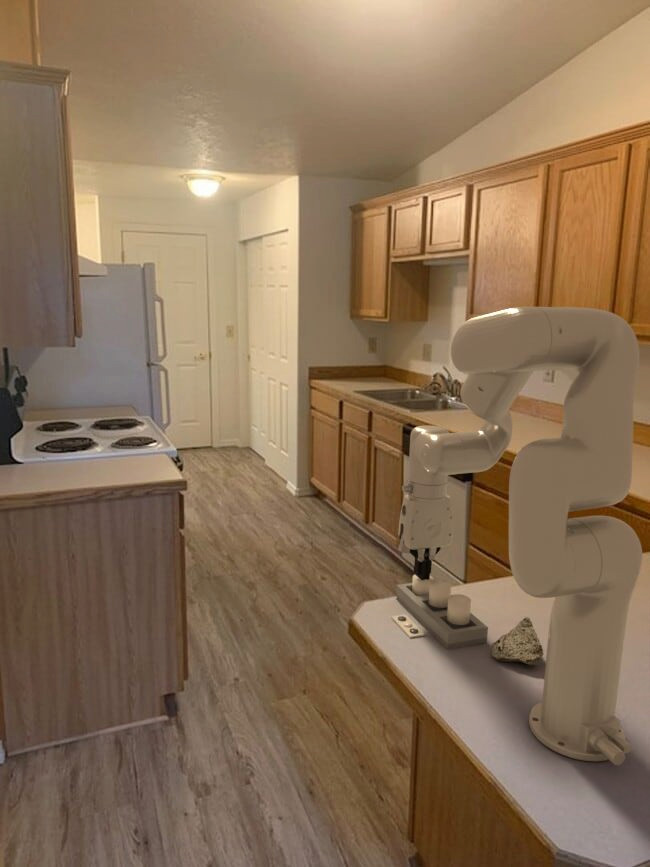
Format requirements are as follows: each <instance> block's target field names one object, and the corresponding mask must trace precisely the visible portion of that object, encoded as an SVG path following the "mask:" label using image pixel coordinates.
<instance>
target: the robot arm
mask: <svg viewBox="0 0 650 867" xmlns="http://www.w3.org/2000/svg"><path fill="white" fill-rule="evenodd" d="M450 357H451V361H452V364H453V366H454V367H455V369H456V370H457V371H458V372H460V373H462V374H464V375H467V376H466V379H465V380H464V382H463V383H462V385H461V387H460V397H461V398H460V399H461V402H462V403H463V405H464V406H465V407H466V408H467V410H469V411H470V412H471V413H472V414H473V415H474V416H477V417H478V418H480V419H482V420H484V421H483V424H482V425H481V426H480V428H479V429H478V430H477V431H463V432H462V431H461V432H451V433H450V432H449V430H448V429H447V428H445V427H442V426H438V425H418V426H416V427H414V428H413V429H412V430H411V432H410V437H409V438H410V439H409V441H410V442H409V456H408V458H409V459H408V475H407V476H408V477H407V478H408V480H406V484H405V485H404V484H403V485H402V486H401V490H402V492H403V493H406V494H404V497H403V500H402V504H401V508H400V509H401V510H400V514H399V521H398V534H397V535H398V536H397V537H398V541H399V543H398V544H399V545H398V551H400V553H402V554H403V553H404V554H410V555H411V556H412V557H413V558H414V564H413V565H414V568H413V573H414V575H416V576H417V577H419V578H420V579H421V580H425V579H426V580H429V579H430V576H431V574H432V561H434V560H435V558H436V555H437V554H438V553H439V552H440V551H441V550H445V549H447V548H449V547H450V545H451V544H452V542H453V535H454V522H453V521H454V520H453V518H454V517H453V506H452V501H451V500H452V499H451V496H450V495H449V494H448V493H447V491H448V490H447V489H448V477H449V476H451V475H458V474H459V475H461V474H470V473H473V474H474V473H481V472H482V473H483V472H486V471H487V470H490V469H491V468H492V467H494V466H495V464H497V463H498V461H499V460H500V459H501V457H502V456H503V455H504V453H505V451H506V450H507V449H508V447H509V446H510V443H511V440H512V435H513V420H512V419H513V418H512V415H511V412H510V408H511V407H512V405H513V403H514V402H515V400H516V399H517V398H518V396H519V394H520V392H521V391H522V390H523V388H524V387H525V385H526V383H527V382H528V381H529V379H530V378H531V376H532V375H533V373H534V372H537V371H539V372H540V371H564V370H565V371H568V370H570V371H571V370H572V371H573V370H574V371H577V372H578V374H577V375H576V377H575V378H574V380H573V381H572V383H571V384H570V385H569V388H568V389H567V390H568V391H567V393H566V395H565V398H564V401H563V406H562V430H561V436H560V437H555V438H554V437H553V438H542V439H538V440H537V439H536V440H534V441H533V440H532V441H531V442H529V443H527V444H526V445H524V446H523V447H521V449H520V450H519V451H518V453H516V455H515V457H514V460H513V462H512V464H511V468H510V473H509V480H508V482H509V484H508V559H509V565H510V570H511V573H512V576H513V578H514V582H515V583H516V584H517V585H518V586H519V589H521V590H522V591H523V592H524V593H526V595H529V596H531V597H533V598H538V599H549V598H554V599H553V603H552V606H551V610H550V615H549V616H550V617H549V626H548V635H547V646H546V647H547V648H546V656H545V657H546V658H545V666H544V668H545V669H544V678H543V689H542V700H541V701H540V702H538V703H537V704H535V705H533V706H532V708H531V709H530V711H529V715H528V716H529V717H528V725H529V728H530V730H531V732H532V734H533V736H534V737H535V738H536V739H537V740H538V741H539V742H541V743H542V744H543V746H545V747H547V748H549V749H550V750H552V751H554V752H556V753H558V754H560V755H562V756H565V757H568V758H570V759H575V760H578V761H586V762H602V761H608V760H609V761H610V762H611V763H612V764H614V765H615V766H620V765H621V764H623V763H624V761H625V759H626V754H629V753H630V752H631V751H632V748H633V746H632V744H631V743H630V742H628V740H626V736H625V732H624V730H623V728H622V726H621V720H620V718H618V717H617V716H616V709H617V701H618V700H617V699H618V692H619V684H620V676H621V668H622V666H621V665H622V660H623V649H624V642H625V641H624V640H625V636H626V628H627V622H628V613H629V609H630V603H631V600H632V596H633V593H634V590H635V588H636V586H637V583H638V579H639V577H640V573H641V569H642V564H643V550H642V549H643V548H642V544H641V541H640V538H639V536H638V535H637V533H636V531H635V530H634V529H633V528H632V527H631V526H630V525H629V524H627V523H626V522H625V521H623V520H621V519H619V518H616V517H613V516H609V515H587V516H580V517H573V518H572V517H571V518H568V516H569V512H575V511H583V510H584V511H585V510H591V509H598V508H603V507H610V506H614V505H616V504H618V503H620V502H622V501H623V500H625V498H626V497H627V495H628V494H629V492H630V489H631V485H632V478H633V476H632V475H633V452H634V450H633V446H634V445H633V444H634V403H635V402H634V399H635V392H636V386H637V380H638V374H639V365H640V346H639V342H638V339H637V336H636V334H635V332H634V329H633V328H632V327H631V325H630V324H629V323H628V322H627V321H626V320H625V319H623V317H621V316H619V315H617V314H616V313H614V312H611V311H609V310H604V309H600V308H593V307H592V308H591V307H580V306H578V307H577V306H576V307H575V306H559V307H558V306H516V307H510V308H507V309H502V310H498V311H495V312H491V313H487V314H482V315H479V316H475V317H472V318H469V319H468V320H466V321H464V322H463V323H462V324H461V325H460V326H459V327H458V328H457V330H456V332H455V334H454V336H453V338H452V340H451V345H450Z"/></svg>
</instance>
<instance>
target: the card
mask: <svg viewBox="0 0 650 867" xmlns="http://www.w3.org/2000/svg"><path fill="white" fill-rule="evenodd" d="M391 619H392V621H394V623H396V625H397V626H398V627H399V628H400V629H401V630H402V631H403V632H404V633H405V634H406V636H408V637H409V639H413V638H419V637H425V636H426V633H424V632H423V631H422V629H421V628H419V626H418V625H417V624H416V623H415V622H413V620H412V619H410V618H409V616H408V615H407V614H400V615H393V616H391Z"/></svg>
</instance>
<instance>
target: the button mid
mask: <svg viewBox="0 0 650 867" xmlns="http://www.w3.org/2000/svg"><path fill="white" fill-rule="evenodd" d="M451 593H452V583H451V582H450V581H449V580H446V579H441V578H435V579H434V578H433V580H431V581H430V588H429V604H430V605H431V606H434V607H437V608H446V607H448V597H449V596H450V595H452V594H451Z"/></svg>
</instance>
